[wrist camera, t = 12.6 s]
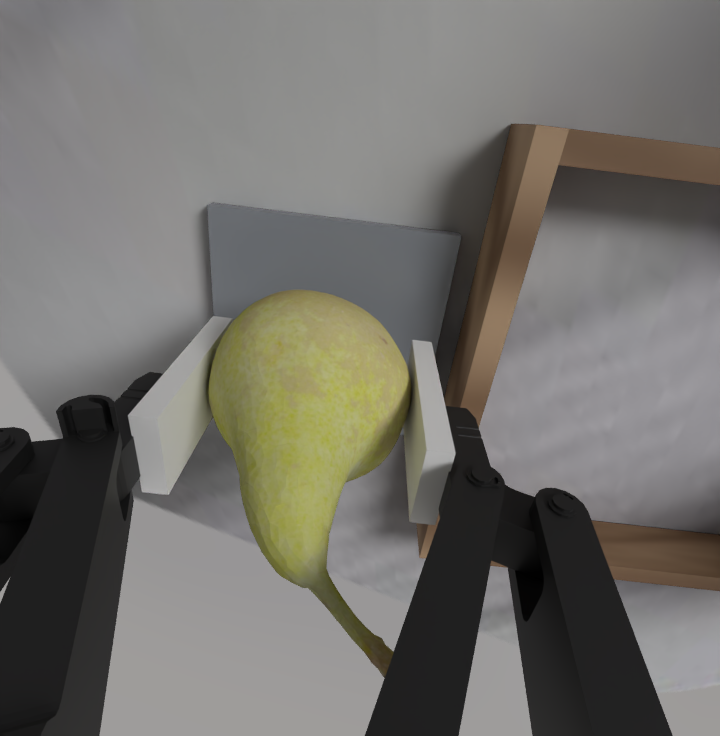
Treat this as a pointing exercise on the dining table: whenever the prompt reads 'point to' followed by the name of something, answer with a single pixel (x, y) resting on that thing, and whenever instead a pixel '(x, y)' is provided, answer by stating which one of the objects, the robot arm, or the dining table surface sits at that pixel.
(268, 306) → the fruit
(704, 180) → the walnut frame
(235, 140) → the dining table surface
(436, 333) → the slate coaster
